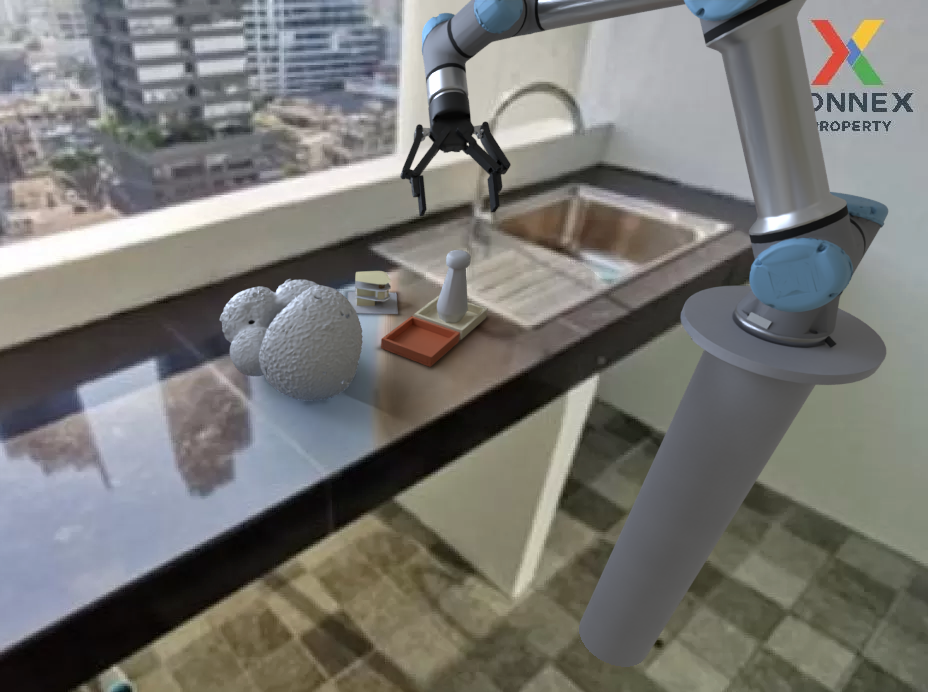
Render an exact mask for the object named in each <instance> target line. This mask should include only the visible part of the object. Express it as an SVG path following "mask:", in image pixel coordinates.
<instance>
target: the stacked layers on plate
mask: <svg viewBox="0 0 928 692" xmlns="http://www.w3.org/2000/svg"><path fill="white" fill-rule="evenodd" d="M354 278H355V279H354V281H355V283H354V291H348V292H347V300H349V302H350V303H351V305H352V306H353V308H354V309H355V310H356V314H371V315H372V314H375V315H376V314H379V315H398V314H399V310H398V295H397V293H398V292H389V290H391V289H392V286H391V284H390V283H391V282H392V279H391V278H390V277H389V275H388V273H387V272H385V271H382V270H367V271H366V270H365V271H356V272H355V277H354Z"/></svg>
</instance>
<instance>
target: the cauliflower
mask: <svg viewBox="0 0 928 692" xmlns="http://www.w3.org/2000/svg"><path fill="white" fill-rule="evenodd" d="M277 287H278V288H276V291H273V290H271V289H270V288H269V287H265V286H255V287H251V288H247V289H244V290H242V291H239V292H237V293H236V294H234V295H233V297H231V298H230V300H229V301H227V303H226V304H225V306H224V307H223V311H222V313H221V314H220V317H219V322H221V326H222V327H221V328H222V329H221V332H222V333H223V336H224V338H225V340H226V341H228V342H229V343H230V346H229V358H230V360H231V362H232V363H233V366H234V367H235V368H236V370H237V371H238V372H239V373H240V374H243V375H245V376H248V377H261V376H264V378H265V380H266V382H268V384H269V385H271V386H272V388H274V389H275V390H276V391H278V392H279V393H280V394H283V395H284V396H286V397H288V398H291V399H294V400H299V401H305V402H306V401H307V402H309V401H321V400H322V401H323V400H329V399H332V398H334V397H336V396H338V395H340V394H341V393H343V392H345V390H346V389H348V388H349V386H350V385H351V383H352V382H353V380H354V378H355V376H356V373H357V370H358V366H359V361H360V359H361V354H362V349H363V348H362V347H363V329H362V325H361V321H360V318H359V315H358V313H356V310H355V309H354V308H353V306H352V305H351V303H350V302H349V300H348V297H346V296H345V295H344V294H343V293H342V292H340V291H339V290H336V288H333V287H330V286H325V285H320V284H318V283H316V282H315V281H312V280H308V279H293V280H292V278H289V279H286V280H285V281H284V283H282V284H280V285H278V286H277Z"/></svg>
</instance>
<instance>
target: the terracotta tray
mask: <svg viewBox="0 0 928 692" xmlns="http://www.w3.org/2000/svg"><path fill="white" fill-rule="evenodd" d="M459 337H460V332H457V331H454V330H452V329H449V328H446V327H443V326H440V325H437V324H434V323H431V322H428V321H425V320H422V319H419V318H417V317H414V315H410V317H408V318H407V319H406V320H404V321H402V323H400V324H399V325H398V326H396V327H394V328H393V329H392V330H390V332H388V333H387V334H386V335H385V336H383V337H382V338H381V340H380V341H381V342H380V349H381V350H385V351H386V352H387V351H388V352H389V353H393V354H395V355H398V356H400V357H403V358H406V359H408V360H410V361H413V362H416V363H418V364H422V365H424V366H426V367H429V368H431V367H432V366H434V364H436V363H437V362H438V361H439V360H440V359H442V357H444V356H445V355H446V354H447V353H448V352H449V351H451V350H452V349H453V347H455V346H456V345H458V343H459V342H460V339H459Z"/></svg>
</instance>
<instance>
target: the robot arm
mask: <svg viewBox="0 0 928 692" xmlns="http://www.w3.org/2000/svg"><path fill="white" fill-rule="evenodd" d="M806 2H807V0H470V1H468V2H467V3H466V4H465V5H464V6H463V7H462V8H461V9H460V10H459V11H458V12H456V13H455V14H454V13H451V12H443V13H439V14H438V15H437V16H432V17H431V18H429V20H427V21H426V23H425V24H424V26H423V29H422V31H421V55H422V59H423V66H424V74H425V85H426V86H425V87H426V97H427V98H426V99H427V106H428V120H429V127H423V124H420V123H418V124H417V125H416V127H415V129H414V132H413V143H412V145H411V148H410V149H409V152H408V154H407V156H406V159H405V162H404V164H403V167H402V169H401V172H400V179H401V180H408V182H409V184H410V187H411V195H412V198H417V205H418V206H417V207H418V216H419V217H424V216H425V214H426V212H427V209H428V208H427V200H426V190H425V188H426V187H425V179H424V175H422V174H423V172H424V171H425V170H426V168H427V167H428V165H429V164H430V163H431V162H432V160H433V159H434V158H435V157H436V156H437V154H438V153H439V151H441V152H443V154H446V153H447V154H448V153H451V152H453V153H460V152H463V153H464V154H466V155H467V156H469V157H470V158H471V159H473V161H475V162H476V164H478V165H479V167H481V168H482V169H483V170H484V171H485V172H486V173H487V174H488V175H489V176H488V178H487V179H486V180H487V188H488V198H489V207H490V213H496V212H497V210H498V209H499V207H500V206H501V204H500V197H499V196H500V195H499V194H500V193H501V192H502V190H503V179H502V178H503V177H502V175H505V174H506V173H507V172H508V171H509V169H510V168H511V166H512V165H511V162H510V161H509V159H508V157H507V156H506V154H505V153H504V151H503V149H502V148H501V147H500V145H499V143H498V142H497V140H496V139H495V137H494V136H493V134H492V132H491V128H490V124H489V122H488V121H482V124H479V125H474V124H473V123H472V117H471V116H472V115H471V108H470V107H471V106H470V98H469V88H468V87H469V86H468V80H467V68H466V63H467V62H468V61H469V60H470V59H472V58H473V57H475V56H476V55H477V54H478V53H480V52H481V51H482V50H483V49H485V48H486V47H487V46H489V45H490V44H491V43H494V42H499V41H503V40H507V39H511V38H516V37H520V36H527V35H532V34H536V33H542V32H545V31H550V30H555V29H561V28H567V27H571V26H577V25H582V24H587V23H593V22H599V21H603V20H609V19H615V18H619V17H624V16H630V15H636V14H640V13H646V12H652V11H658V10H663V9H668V8H672V7H673V8H674V7H678V6H683V5H685V6H686V7H687V9H688V10H689V11H690V12H691V14H693V15H694V16H695V17H697V18H698V19H699V22H700V26H701V30H702V35H703V39H704V44H705V47H706V48H707V49H711V50H713V51H717V52H718V53H720V54H721V57H722V63H723V67H724V71H725V76H726V80H727V85H728V89H729V94H730V98H731V102H732V108H733V111H734V116H735V119H736V120H735V121H736V126H737V131H738V135H739V139H740V143H741V148H742V152H743V156H744V161H745V166H746V170H747V175H748V179H749V184H750V188H751V193H752V198H753V201H754V206H755V210H756V215H757V217H756V219H755V221H754V222H753V223H752V225H751V226H750V228H749V229H748V235H749V240H750V244H751V248H752V249H751V250H752V254H753V257H754V260H753V262H752V264H751V266H750V271H749V278H748V279H749V281H748V282H749V286H751V290H750V291H749V292H748V293H747V294H746V295H745V296H744V297H743V298H742V299H741V301H740V302H739V303H738V304H737V306H736V308H735V310H734V312H733V314H732V318H733V321H734V322H735V324H736V325H737V326H738V327H739V328H741V329H742V330H743V331H745V332H746V333H748V334H750V335H752V336H754V337H756V338H759V339H761V340H764V341H767V342H770V343H774V344H778V345H782V346H788V347H798V348H809V347H817V346H821V345H823V344H825V343H827V344H828V345H829V347H830V348H831V347H833V346H835V345H836V343H835V342H834V341H833V339H832V338H831V335H832V334H833V332H834V330H835V325H836V318H837V312H838V308H839V304H840V298H841V296H842V294H843V292H844V291H845V290H846V288H847V287H848V286H849V284H850V282H851V280H852V278H853V276H854V273H855V272H856V270H857V269H858V267H859V265H860V264H861V262H862V260H863V259H864V258H865V255H866V254H867V251H868V250H869V248H870V246H871V245H872V243H873V241H874V240H875V238H876V236H877V235H878V233H879V231H880V229H881V228H883V227H884V225H885V221H886V219H887V216H888V215H889V208H888V206H887V205H886V204H884V203H882V202H880V201H877V200H875V199H871V198H867V197H864V196H858V195H854V194H848V193H843V192H835V191H831V190H830V185H829V180H828V175H827V168H826V163H825V158H824V153H823V148H822V142H821V137H820V131H819V126H818V122H817V116H816V111H815V106H814V100H813V96H812V95H813V94H812V89H811V84H810V79H809V74H808V68H807V64H806V58H805V52H804V47H803V42H802V37H801V36H802V35H801V32H800V26H799V20H798V17H799V13H800V11H801V10H802V8H803V6H804V5H805V3H806ZM473 135H475V136H476V138H477V139H476V138H474V136H473ZM427 137H428V138H429V140H430V141H431V142H432V145H431V146H430V147H429V149H428V150H427V151H426V153H425V154H424V155H423V157H422V158H421V159H420V161H418V163H417V165H416V166H414V169H411V167H412V166H413V163H414V161H415V157H416V155H417V153H418V151H419V148H420V145H421V143H422V142H424V141H425V140H426V138H427ZM477 140H480V143H481V145H482V146H483V147H481V146H480V144H479V143H478V141H477ZM483 148H484V149H483Z"/></svg>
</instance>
